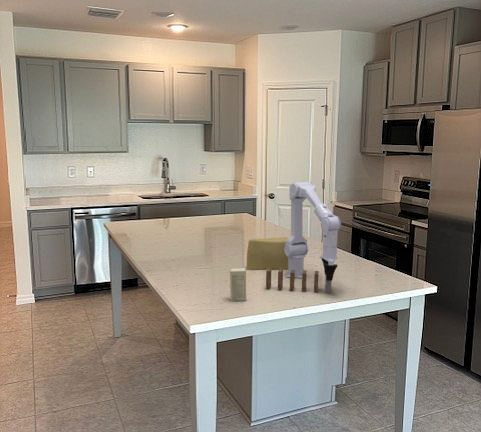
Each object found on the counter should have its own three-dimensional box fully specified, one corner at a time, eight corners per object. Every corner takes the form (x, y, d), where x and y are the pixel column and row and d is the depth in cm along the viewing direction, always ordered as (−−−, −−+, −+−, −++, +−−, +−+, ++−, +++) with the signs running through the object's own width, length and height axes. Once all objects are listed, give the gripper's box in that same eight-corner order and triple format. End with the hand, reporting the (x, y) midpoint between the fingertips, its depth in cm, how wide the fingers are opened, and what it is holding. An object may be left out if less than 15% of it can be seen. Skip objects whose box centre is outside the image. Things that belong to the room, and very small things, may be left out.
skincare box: (245, 297, 193) (246, 267, 192) (246, 301, 189) (246, 270, 187) (229, 297, 193) (230, 267, 191) (229, 301, 189) (230, 270, 187)
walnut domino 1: (265, 289, 204) (266, 271, 202) (267, 286, 209) (267, 268, 207) (269, 289, 203) (269, 271, 202) (271, 286, 208) (271, 268, 207)
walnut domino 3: (289, 291, 202) (290, 272, 201) (290, 287, 207) (291, 269, 205) (293, 291, 202) (294, 272, 200) (294, 287, 206) (294, 269, 205)
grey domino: (324, 293, 200) (325, 274, 198) (327, 289, 204) (328, 271, 203) (328, 293, 199) (329, 275, 198) (331, 290, 204) (331, 271, 202)
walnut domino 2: (277, 290, 203) (278, 271, 201) (278, 286, 208) (279, 268, 206) (281, 290, 202) (281, 272, 201) (282, 287, 207) (283, 268, 206)
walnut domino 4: (301, 291, 201) (302, 273, 200) (302, 288, 206) (302, 270, 205) (305, 292, 201) (306, 273, 199) (306, 288, 206) (306, 270, 204)
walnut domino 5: (313, 292, 200) (314, 274, 199) (314, 289, 205) (314, 270, 204) (317, 293, 200) (318, 274, 199) (317, 289, 205) (318, 271, 203)
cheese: (249, 272, 229) (249, 241, 227) (244, 267, 238) (244, 237, 236) (293, 270, 234) (294, 239, 232) (287, 264, 244) (287, 235, 241)
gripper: (318, 241, 206) (317, 272, 208) (321, 249, 192) (320, 282, 194) (335, 242, 205) (334, 273, 207) (339, 250, 191) (337, 283, 193)
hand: (328, 277), depth 201 cm, fingers open, 7 cm apart
